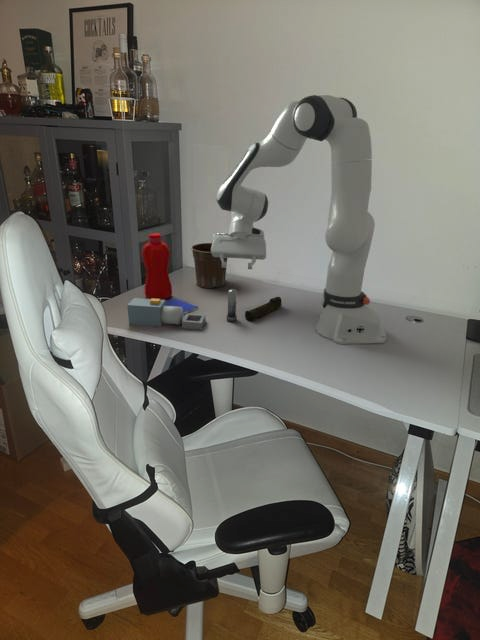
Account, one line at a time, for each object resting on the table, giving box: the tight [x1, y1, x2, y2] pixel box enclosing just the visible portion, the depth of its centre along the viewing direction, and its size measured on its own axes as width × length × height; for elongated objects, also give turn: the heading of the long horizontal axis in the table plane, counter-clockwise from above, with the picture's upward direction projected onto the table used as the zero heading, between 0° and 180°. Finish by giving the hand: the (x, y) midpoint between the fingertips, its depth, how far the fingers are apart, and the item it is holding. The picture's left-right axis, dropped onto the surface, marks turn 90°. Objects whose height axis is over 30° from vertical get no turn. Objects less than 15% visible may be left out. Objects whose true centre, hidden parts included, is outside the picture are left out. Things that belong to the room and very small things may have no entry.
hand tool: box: [244, 296, 282, 323], centre depth 147 cm, size 19×4×5 cm, turn 136°
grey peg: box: [226, 288, 238, 323], centre depth 140 cm, size 4×4×11 cm
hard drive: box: [165, 297, 199, 316], centre depth 151 cm, size 2×8×12 cm
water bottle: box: [141, 232, 173, 301], centre depth 156 cm, size 9×11×25 cm
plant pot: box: [190, 242, 228, 289], centre depth 173 cm, size 16×16×16 cm
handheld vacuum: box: [126, 297, 207, 331], centre depth 137 cm, size 25×7×8 cm, turn 83°
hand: (236, 267), depth 146 cm, fingers open, 8 cm apart
